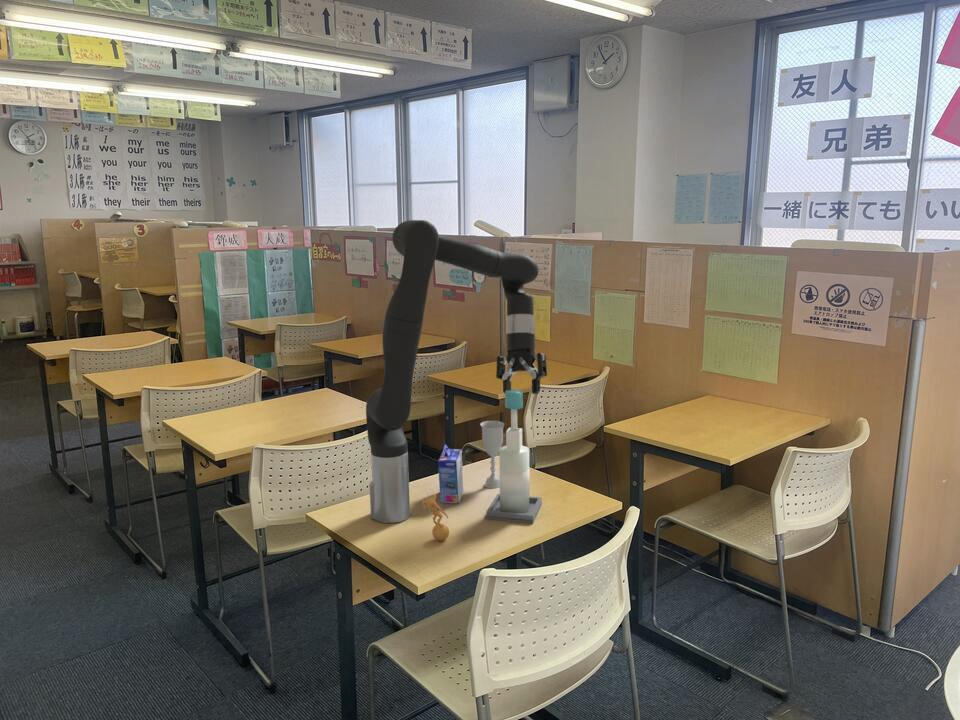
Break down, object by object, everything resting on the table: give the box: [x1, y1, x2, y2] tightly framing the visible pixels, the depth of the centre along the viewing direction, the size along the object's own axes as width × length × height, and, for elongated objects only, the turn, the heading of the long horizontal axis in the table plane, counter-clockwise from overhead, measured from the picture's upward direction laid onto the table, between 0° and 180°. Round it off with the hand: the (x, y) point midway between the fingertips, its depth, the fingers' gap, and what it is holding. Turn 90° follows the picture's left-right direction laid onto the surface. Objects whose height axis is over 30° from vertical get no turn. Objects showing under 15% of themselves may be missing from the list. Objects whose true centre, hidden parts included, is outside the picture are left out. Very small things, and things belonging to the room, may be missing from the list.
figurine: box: [421, 493, 450, 542], centre depth 163 cm, size 8×6×12 cm
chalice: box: [479, 420, 506, 489], centre depth 198 cm, size 7×7×18 cm
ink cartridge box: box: [437, 444, 464, 504], centre depth 190 cm, size 10×6×14 cm, turn 174°
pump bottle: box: [485, 427, 543, 524], centre depth 179 cm, size 12×12×22 cm
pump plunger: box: [504, 388, 524, 430], centre depth 176 cm, size 4×4×10 cm
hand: (521, 394), depth 182 cm, fingers open, 8 cm apart
